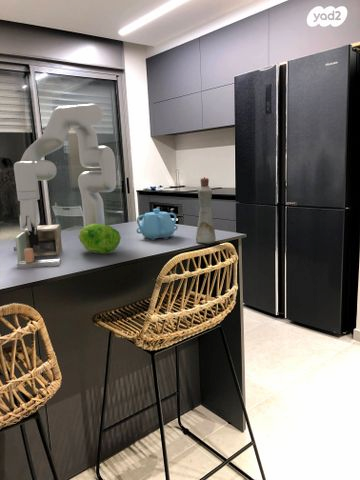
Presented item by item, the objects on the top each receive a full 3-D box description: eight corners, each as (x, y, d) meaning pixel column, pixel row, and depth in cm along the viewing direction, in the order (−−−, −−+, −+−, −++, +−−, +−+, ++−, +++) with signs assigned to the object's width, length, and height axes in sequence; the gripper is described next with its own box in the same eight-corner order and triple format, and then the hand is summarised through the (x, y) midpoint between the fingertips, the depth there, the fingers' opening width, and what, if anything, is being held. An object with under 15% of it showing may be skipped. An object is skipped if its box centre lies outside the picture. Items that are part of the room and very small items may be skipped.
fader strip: (60, 262, 142) (60, 258, 142) (58, 265, 138) (58, 261, 138) (20, 265, 140) (19, 261, 139) (17, 268, 136) (16, 264, 136)
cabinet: (62, 249, 165) (59, 224, 163) (58, 254, 155) (56, 228, 153) (32, 250, 163) (29, 226, 161) (27, 256, 153) (24, 230, 151)
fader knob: (34, 260, 140) (32, 247, 139) (32, 262, 137) (31, 249, 136) (27, 260, 139) (25, 248, 138) (25, 262, 136) (23, 249, 135)
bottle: (191, 243, 167) (190, 177, 162) (200, 239, 175) (199, 176, 169) (210, 245, 163) (209, 177, 158) (218, 241, 171) (218, 176, 165)
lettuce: (97, 246, 168) (95, 219, 166) (129, 254, 152) (127, 224, 149) (70, 251, 159) (68, 223, 157) (101, 260, 143) (99, 229, 141)
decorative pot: (154, 233, 195) (153, 206, 192) (181, 235, 186) (180, 207, 183) (133, 239, 181) (131, 210, 179) (161, 242, 173) (159, 211, 170)
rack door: (21, 263, 141) (17, 236, 139) (14, 264, 141) (11, 237, 139) (28, 255, 153) (25, 230, 151) (22, 256, 153) (19, 231, 151)
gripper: (22, 194, 149) (28, 241, 153) (12, 198, 134) (19, 250, 138) (42, 193, 150) (48, 240, 154) (35, 197, 135) (41, 248, 139)
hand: (34, 244), depth 146 cm, fingers closed
